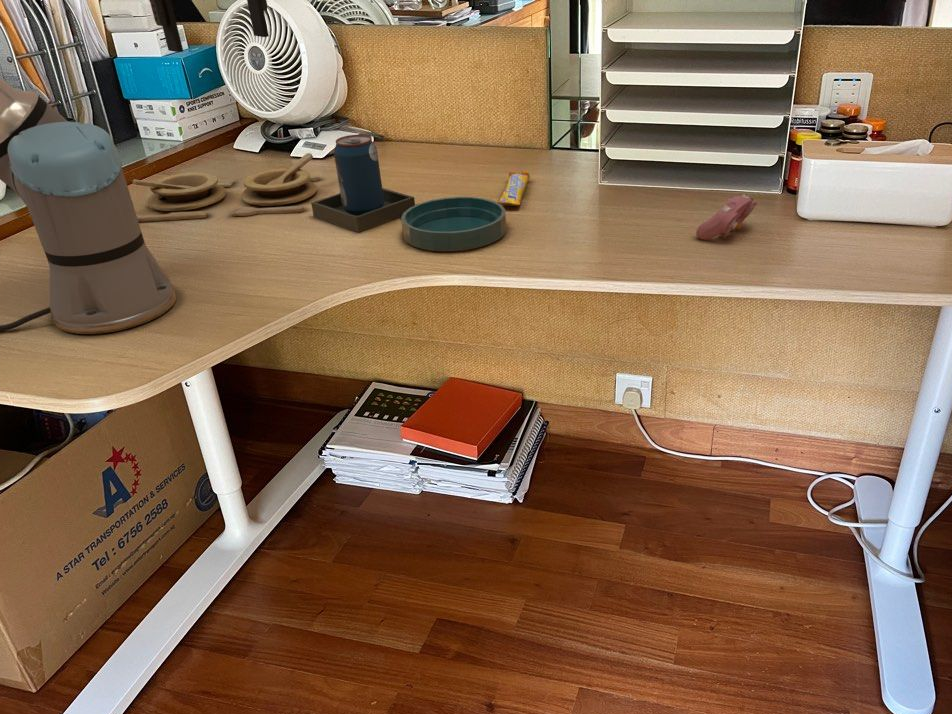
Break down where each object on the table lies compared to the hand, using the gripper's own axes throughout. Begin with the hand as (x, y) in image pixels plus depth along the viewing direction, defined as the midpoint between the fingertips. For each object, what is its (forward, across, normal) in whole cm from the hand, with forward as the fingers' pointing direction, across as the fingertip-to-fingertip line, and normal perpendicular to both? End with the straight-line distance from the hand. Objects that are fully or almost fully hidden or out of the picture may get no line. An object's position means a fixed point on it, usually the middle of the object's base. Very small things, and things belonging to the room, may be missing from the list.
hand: (220, 43), depth 120 cm
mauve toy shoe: (+29, +44, -59) cm, 79 cm away
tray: (+29, +16, -6) cm, 33 cm away
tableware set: (+29, +7, +20) cm, 36 cm away
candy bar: (+29, +38, -20) cm, 52 cm away
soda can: (+28, +16, -6) cm, 33 cm away
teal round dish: (+29, +19, -25) cm, 43 cm away
